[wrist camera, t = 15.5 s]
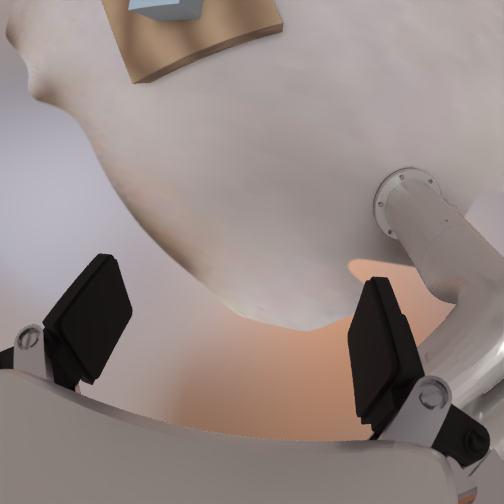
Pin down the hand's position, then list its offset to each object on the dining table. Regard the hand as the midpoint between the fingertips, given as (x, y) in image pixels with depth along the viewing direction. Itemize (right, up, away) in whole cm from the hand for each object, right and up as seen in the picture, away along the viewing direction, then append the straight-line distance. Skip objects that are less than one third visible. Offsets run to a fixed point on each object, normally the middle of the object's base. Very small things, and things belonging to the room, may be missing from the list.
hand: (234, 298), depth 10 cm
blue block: (-8, +32, +12) cm, 35 cm away
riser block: (-7, +35, +17) cm, 40 cm away
